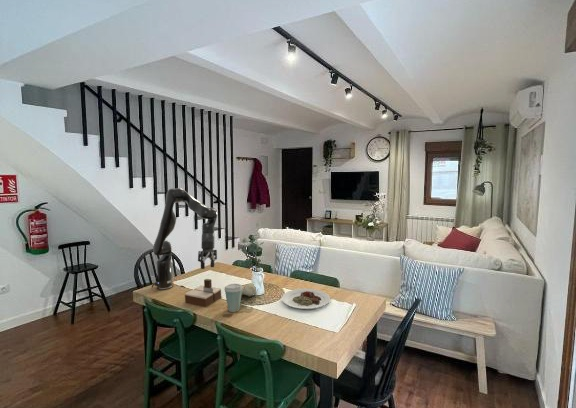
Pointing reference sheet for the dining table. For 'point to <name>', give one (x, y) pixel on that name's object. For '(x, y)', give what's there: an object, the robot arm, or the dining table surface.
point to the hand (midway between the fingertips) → (207, 268)
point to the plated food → (306, 298)
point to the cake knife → (208, 286)
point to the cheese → (249, 290)
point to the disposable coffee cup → (233, 296)
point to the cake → (202, 296)
